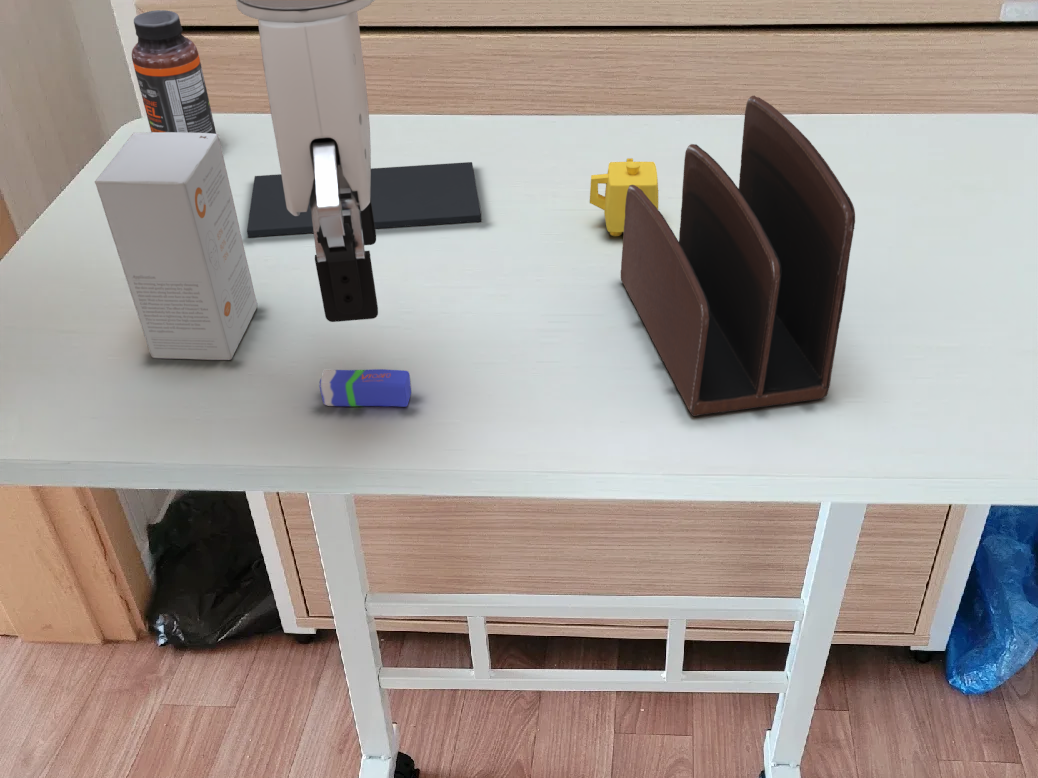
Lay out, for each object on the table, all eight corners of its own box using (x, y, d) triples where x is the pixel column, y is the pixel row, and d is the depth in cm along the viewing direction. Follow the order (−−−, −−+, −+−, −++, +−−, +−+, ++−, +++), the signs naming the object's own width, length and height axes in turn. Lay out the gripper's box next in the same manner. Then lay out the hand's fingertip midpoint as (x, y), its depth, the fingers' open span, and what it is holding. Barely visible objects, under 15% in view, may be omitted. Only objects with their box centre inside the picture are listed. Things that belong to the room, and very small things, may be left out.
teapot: (588, 204, 98) (589, 143, 94) (654, 204, 98) (658, 142, 94) (589, 247, 92) (590, 184, 89) (658, 247, 92) (663, 183, 88)
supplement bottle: (145, 149, 107) (109, 16, 99) (199, 131, 110) (168, 0, 101) (176, 167, 104) (141, 32, 96) (230, 149, 107) (201, 16, 98)
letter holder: (738, 267, 90) (761, 76, 79) (828, 401, 77) (870, 195, 66) (618, 281, 89) (626, 89, 78) (690, 420, 76) (710, 213, 65)
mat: (248, 237, 95) (246, 230, 94) (255, 182, 102) (254, 175, 102) (481, 221, 96) (480, 214, 95) (472, 168, 103) (472, 161, 103)
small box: (181, 304, 87) (132, 129, 78) (259, 306, 87) (220, 131, 77) (148, 359, 82) (91, 179, 72) (232, 362, 82) (186, 181, 72)
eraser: (328, 392, 79) (324, 366, 77) (412, 394, 78) (409, 368, 77) (323, 407, 78) (318, 382, 76) (407, 410, 77) (404, 384, 76)
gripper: (241, -72, 64) (298, 223, 77) (216, 27, 52) (288, 355, 65) (372, -81, 64) (407, 215, 77) (375, 17, 53) (416, 345, 66)
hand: (352, 279), depth 71 cm, fingers open, 9 cm apart
